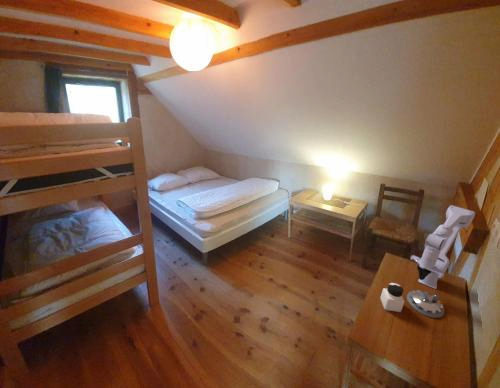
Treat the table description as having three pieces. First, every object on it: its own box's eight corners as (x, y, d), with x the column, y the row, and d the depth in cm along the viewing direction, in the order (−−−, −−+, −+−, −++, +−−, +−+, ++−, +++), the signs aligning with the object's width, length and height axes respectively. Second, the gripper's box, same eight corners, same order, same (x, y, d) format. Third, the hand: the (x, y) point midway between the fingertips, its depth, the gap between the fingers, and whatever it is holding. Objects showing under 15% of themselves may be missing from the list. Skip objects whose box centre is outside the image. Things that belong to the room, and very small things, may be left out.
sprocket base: (408, 287, 122) (409, 285, 121) (444, 302, 113) (445, 300, 112) (404, 306, 111) (404, 304, 110) (443, 324, 102) (444, 322, 102)
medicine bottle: (401, 312, 108) (407, 293, 103) (384, 310, 109) (390, 291, 104) (395, 300, 114) (401, 282, 109) (379, 298, 116) (385, 280, 111)
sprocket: (431, 292, 117) (434, 285, 114) (448, 315, 105) (452, 307, 103) (404, 290, 118) (407, 283, 116) (418, 312, 106) (421, 304, 104)
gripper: (409, 250, 114) (402, 271, 120) (440, 269, 102) (431, 291, 107) (419, 247, 116) (411, 267, 122) (450, 265, 104) (440, 287, 109)
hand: (421, 278), depth 115 cm, fingers closed
